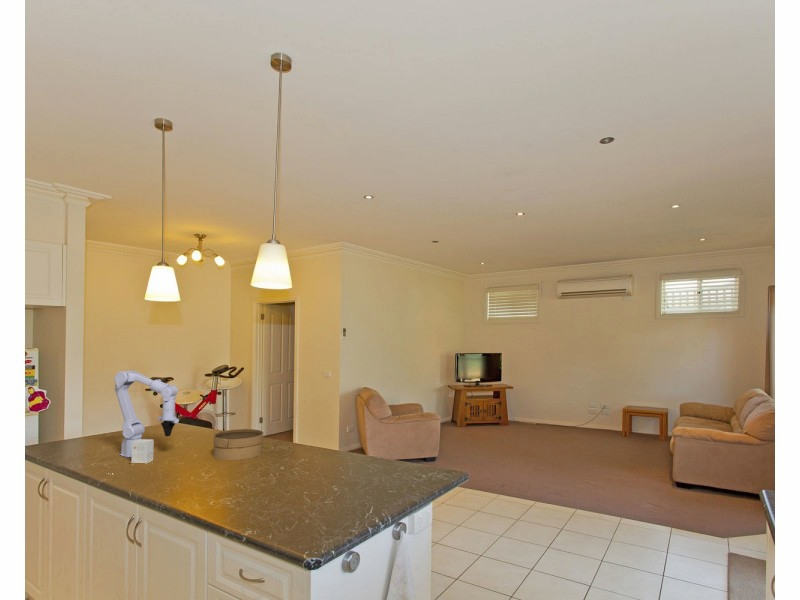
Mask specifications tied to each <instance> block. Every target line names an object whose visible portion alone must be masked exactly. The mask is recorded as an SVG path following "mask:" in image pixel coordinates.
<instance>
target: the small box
mask: <svg viewBox="0 0 800 600" xmlns="http://www.w3.org/2000/svg"><path fill="white" fill-rule="evenodd" d="M154 445H155V440H154V439H152V438H151V439H148V438H147V439H145V438H141V439H139V440H136V441H133V442H132V457H131V461H130V462H131V463H145V464H147V463H149V462H151V461H153V459H154V450H155V449H154V447H155V446H154Z"/></svg>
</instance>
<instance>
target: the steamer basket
mask: <svg viewBox="0 0 800 600" xmlns="http://www.w3.org/2000/svg"><path fill="white" fill-rule="evenodd" d="M263 442H264V431H263V430H261V429H254V428H252V429H251V428H250V429H249V428H240V429H229V430H223V431H218V432H216V433H215V434H214V435H213V458H214V459H215V458H216V459H215V460H218V459H221V460H220V461H225V460H238V461H241V460H240V459H247V458H252V457H255V456H258V455H260V454H261V453H262V454H263ZM262 454H261V455H262ZM261 455H260V456H261ZM258 457H259V456H258ZM252 459H253V458H252ZM247 460H248V459H247Z"/></svg>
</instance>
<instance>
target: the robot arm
mask: <svg viewBox="0 0 800 600" xmlns="http://www.w3.org/2000/svg"><path fill="white" fill-rule="evenodd" d="M113 379H114V383H115V384H114V392H115V395H116V397H117V402H118V404H119V409H120V411H121V413H122V417H123V420H124V421H123V423H122V425H121V427H122V437H124V438H123V439H122V441H121V451H120V453H119V456H120V455H121V457H125V458H129V457H130V458H132V442H133V441H136V440H139V439H142V437H143V434H144V433H145V426H144V424H143V423H142V421H141V419H139V418H137V415H136V412H135V409H134V406H133V403H132V400H131V399H132V398H131V396H130V394H129V389H130V387H131V385H132V384H134V383H135V382H138V383H141V384H143V385H146V386H148V387H149V389H150V390H151V391H153V392H156V393H158V394H160V395H161V397H162V416H158V417H157V421H159V422H160V421H161V423H160V425H161V428H162V429H163V432H164V437H170V436H171V434H172V431H173V428H174V426H176V424H178V423H179V421H180V419H179V418H177V416H175V413H176V395H178V393H179V389H178V387H177V386H176V385H175V384H171V385H170V384H169V383H166V382H163V381H162V379H151V378H150V377H147V376H146V375H144V374H142V373H140V372H139V371H136V370H134V369H130V370H125V371H124V370H120V371H118V372H117V373H116V374H115V376H114V378H113Z"/></svg>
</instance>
